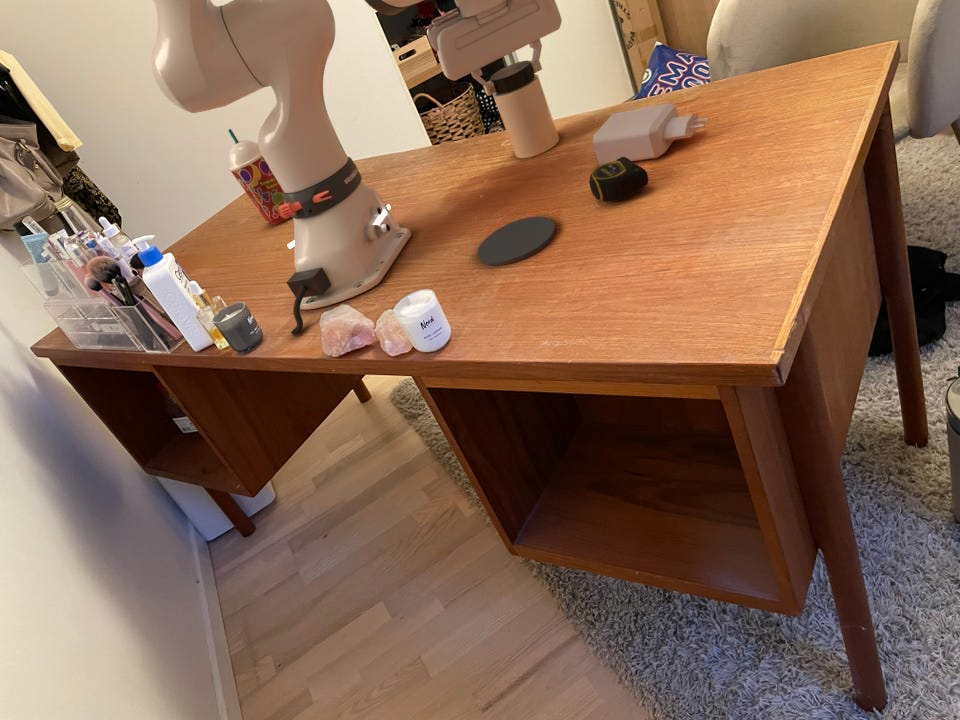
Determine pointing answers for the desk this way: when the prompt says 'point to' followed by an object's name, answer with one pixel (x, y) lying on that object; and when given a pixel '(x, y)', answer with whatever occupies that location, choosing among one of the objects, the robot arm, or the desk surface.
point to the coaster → (517, 241)
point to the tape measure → (617, 180)
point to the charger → (642, 133)
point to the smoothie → (256, 179)
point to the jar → (527, 119)
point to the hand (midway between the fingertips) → (514, 82)
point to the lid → (512, 77)
